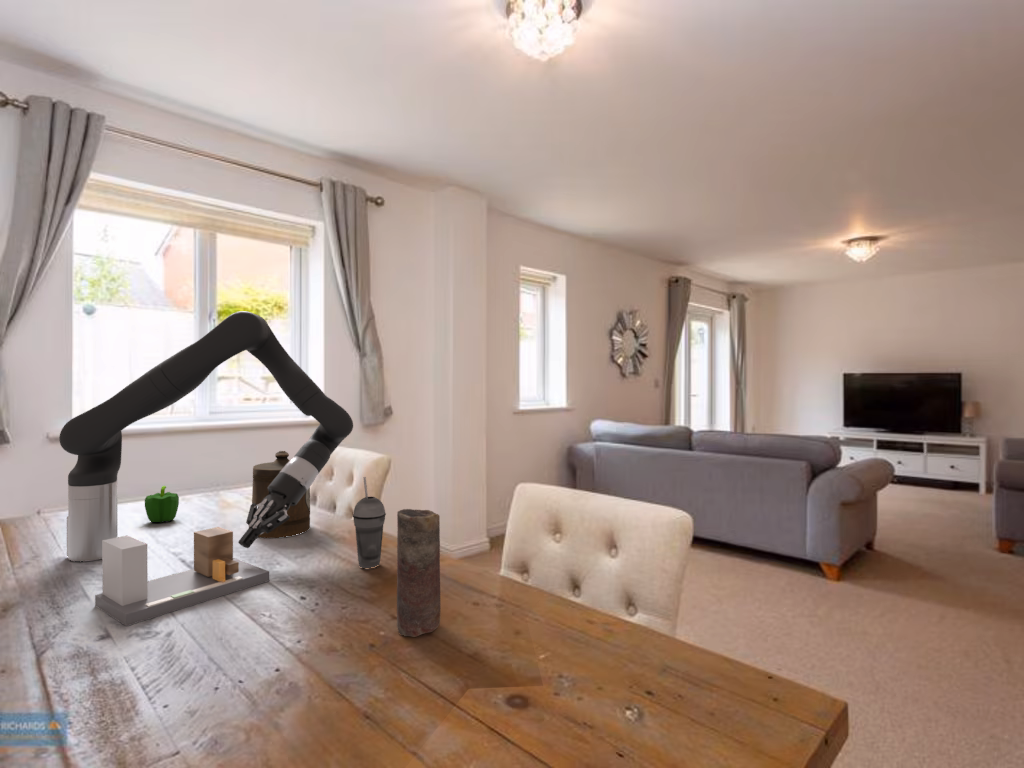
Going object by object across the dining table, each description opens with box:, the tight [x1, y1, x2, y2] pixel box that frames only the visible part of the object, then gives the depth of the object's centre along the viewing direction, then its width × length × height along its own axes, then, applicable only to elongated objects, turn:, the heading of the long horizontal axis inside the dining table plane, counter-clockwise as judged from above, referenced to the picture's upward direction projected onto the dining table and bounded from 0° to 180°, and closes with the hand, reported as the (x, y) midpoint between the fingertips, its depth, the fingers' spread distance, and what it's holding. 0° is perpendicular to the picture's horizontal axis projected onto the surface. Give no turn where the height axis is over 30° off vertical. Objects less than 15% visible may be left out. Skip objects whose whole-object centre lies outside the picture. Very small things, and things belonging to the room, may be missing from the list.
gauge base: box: [94, 535, 270, 627], centre depth 109 cm, size 26×14×12 cm, turn 144°
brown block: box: [193, 526, 239, 577], centre depth 114 cm, size 5×11×8 cm, turn 55°
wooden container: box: [251, 450, 311, 539], centre depth 153 cm, size 15×15×22 cm
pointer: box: [213, 559, 225, 582], centre depth 110 cm, size 1×4×4 cm, turn 54°
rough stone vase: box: [396, 508, 442, 638], centre depth 94 cm, size 8×7×20 cm
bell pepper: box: [144, 485, 180, 523], centre depth 162 cm, size 8×8×10 cm
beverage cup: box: [352, 476, 387, 568], centre depth 125 cm, size 7×7×20 cm
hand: (242, 545), depth 120 cm, fingers closed
